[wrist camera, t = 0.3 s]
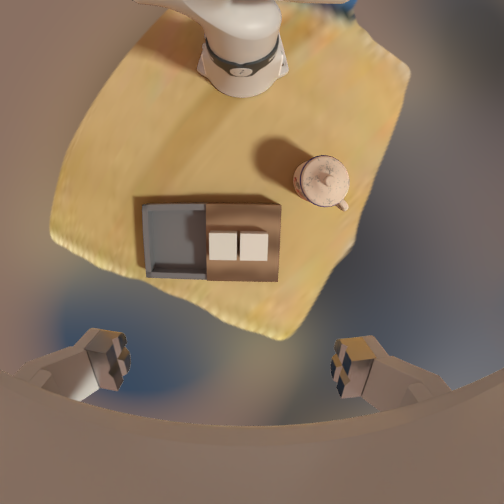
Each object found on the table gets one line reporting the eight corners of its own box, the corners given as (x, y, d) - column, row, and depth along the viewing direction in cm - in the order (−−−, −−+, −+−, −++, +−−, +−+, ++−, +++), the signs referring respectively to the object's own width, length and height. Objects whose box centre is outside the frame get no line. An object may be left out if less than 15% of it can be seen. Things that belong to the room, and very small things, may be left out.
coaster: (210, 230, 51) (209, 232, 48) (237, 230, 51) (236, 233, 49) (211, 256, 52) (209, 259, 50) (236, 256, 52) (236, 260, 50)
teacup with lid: (282, 180, 53) (292, 179, 41) (313, 150, 51) (330, 142, 40) (322, 222, 55) (341, 232, 44) (351, 192, 54) (376, 195, 42)
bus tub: (148, 203, 53) (142, 204, 50) (208, 202, 53) (206, 203, 50) (151, 272, 57) (146, 277, 53) (209, 273, 57) (207, 279, 54)
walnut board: (208, 202, 53) (206, 204, 50) (278, 203, 54) (281, 205, 50) (209, 273, 57) (207, 280, 53) (275, 275, 58) (277, 281, 54)
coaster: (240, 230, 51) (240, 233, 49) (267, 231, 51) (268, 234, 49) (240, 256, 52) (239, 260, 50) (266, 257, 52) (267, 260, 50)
